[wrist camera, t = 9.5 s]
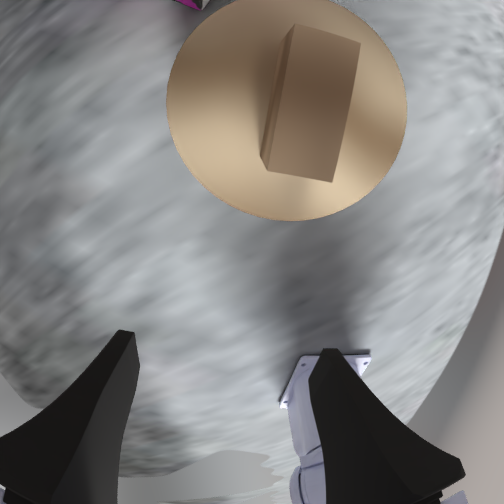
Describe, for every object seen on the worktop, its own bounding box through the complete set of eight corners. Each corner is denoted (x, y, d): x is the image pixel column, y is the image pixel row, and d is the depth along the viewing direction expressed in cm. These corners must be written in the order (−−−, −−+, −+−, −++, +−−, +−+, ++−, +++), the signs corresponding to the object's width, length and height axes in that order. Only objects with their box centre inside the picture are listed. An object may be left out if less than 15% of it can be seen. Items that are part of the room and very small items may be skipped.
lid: (368, 228, 14) (401, 264, 11) (160, 200, 13) (137, 233, 9) (411, 40, 9) (457, 32, 6) (192, -15, 8) (179, -51, 5)
